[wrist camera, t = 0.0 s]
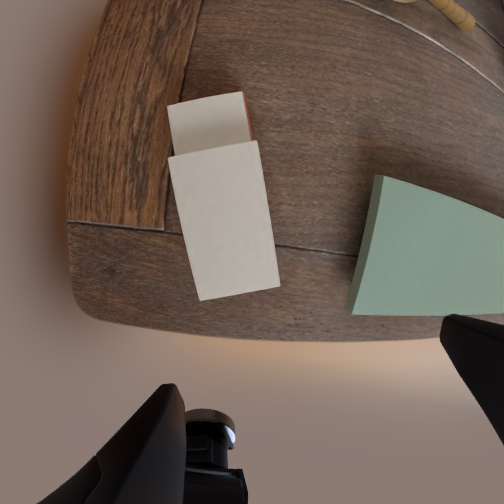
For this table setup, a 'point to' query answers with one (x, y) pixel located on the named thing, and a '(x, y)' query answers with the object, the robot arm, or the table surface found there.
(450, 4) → the kendama
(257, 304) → the table surface
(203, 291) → the stepped block on base
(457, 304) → the flat pale green board
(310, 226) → the table surface
